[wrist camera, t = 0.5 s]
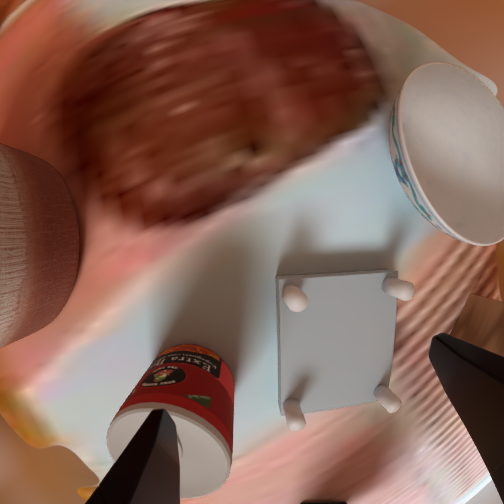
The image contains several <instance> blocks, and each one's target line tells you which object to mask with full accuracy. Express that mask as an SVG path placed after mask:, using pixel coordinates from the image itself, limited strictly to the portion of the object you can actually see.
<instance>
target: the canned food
mask: <svg viewBox="0 0 504 504" xmlns="http://www.w3.org/2000/svg"><path fill="white" fill-rule="evenodd" d="M160 408H164V409H166V410H167V412H168V413H169V415H170V416H171V418H172V419H173V420H174V422H175V424H176V429H177V441H178V451H179V461H180V499H184V498H197V497H202V496H205V495H208V494H211V493H212V492H214V491H216V490H218V489H219V488H220V487H221V486H222V485H223V484H224V483H225V482H226V480H227V478H228V477H229V473H230V469H231V464H232V453H233V419H234V381H233V376H232V374H231V372H230V370H229V368H228V367H227V365H226V364H225V363H224V361H223V360H222V359H221V358H220V357H219V356H218V355H217V354H215V353H214V352H212V351H211V350H209V349H207V348H204V347H202V346H198V345H192V344H184V345H178V346H174V347H171V348H169V349H166V350H165V351H163V352H162V353H160V354H159V355H158V356H157V357H156V359H155V360H154V361H153V363H152V364H151V365H150V367H149V368H148V370H147V371H146V372H145V374H144V375H143V377H142V378H141V379H140V381H139V382H138V383H137V385H136V386H135V388H134V389H133V390H132V392H131V393H130V395H129V396H128V398H127V399H126V400H125V402H124V403H123V405H122V406H121V407H120V409H119V411H118V412H117V414H116V415H115V417H114V419H113V420H112V422H111V424H110V427H109V429H108V432H107V447H108V450H109V453H110V456H111V457H112V459H113V461H114V463H115V462H116V460H117V459H118V457H119V456H120V455H121V453H122V452H123V450H124V449H125V448H126V446H127V445H128V443H129V442H130V440H131V439H132V438H133V436H134V435H135V433H136V432H137V431H138V429H139V428H140V426H141V425H142V423H143V422H144V421H145V419H146V418H147V416H148V415H149V414H150V412H151V411H152V410H153V409H160Z"/></svg>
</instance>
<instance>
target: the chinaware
mask: <svg viewBox="0 0 504 504" xmlns="http://www.w3.org/2000/svg"><path fill="white" fill-rule="evenodd" d="M389 144H390V152H391V158H392V162H393V166H394V169H395V172H396V175H397V177H398V180H399V182H400V184H401V186H402V188H403V190H404V192H405V194H406V195H407V197H408V198H409V200H410V201H411V203H412V204H413V205H414V207H415V208H416V209H417V210H418V211H419V212H420V214H421V215H422V216H423V217H424V218H426V219H427V220H428V221H429V222H430V223H431V224H433V225H434V226H435V227H437V228H438V229H439V230H441V231H443V232H444V233H446V234H448V235H450V236H452V237H454V238H456V239H458V240H460V241H463V242H466V243H469V244H473V245H477V246H489V245H493V244H496V243H498V242H500V241H502V240H503V239H504V108H503V107H502V105H501V103H500V102H499V101H498V99H497V98H496V97H495V96H494V94H493V93H492V92H491V91H490V90H489V89H488V88H487V87H486V86H485V85H484V84H483V83H482V82H481V81H480V80H479V79H477V78H476V77H475V76H473V75H472V74H470V73H469V72H467V71H466V70H464V69H462V68H460V67H457V66H455V65H452V64H448V63H443V62H430V63H426V64H423V65H421V66H419V67H417V68H416V69H415V70H413V71H412V72H411V73H410V74H409V76H408V77H407V78H406V80H405V81H404V83H403V85H402V87H401V89H400V91H399V93H398V95H397V97H396V100H395V103H394V106H393V110H392V114H391V119H390V127H389Z"/></svg>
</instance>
